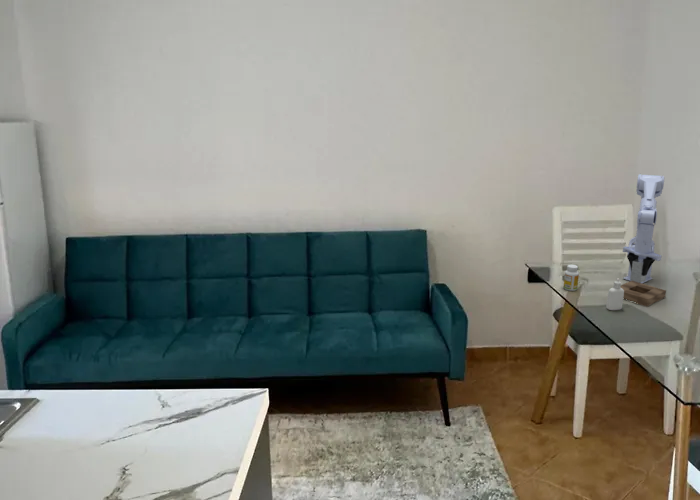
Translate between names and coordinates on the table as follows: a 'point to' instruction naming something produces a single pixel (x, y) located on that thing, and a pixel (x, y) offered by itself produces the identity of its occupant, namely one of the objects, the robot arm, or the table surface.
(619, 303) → the eye dropper bottle
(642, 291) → the socket block
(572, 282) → the supplement bottle
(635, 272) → the peg
